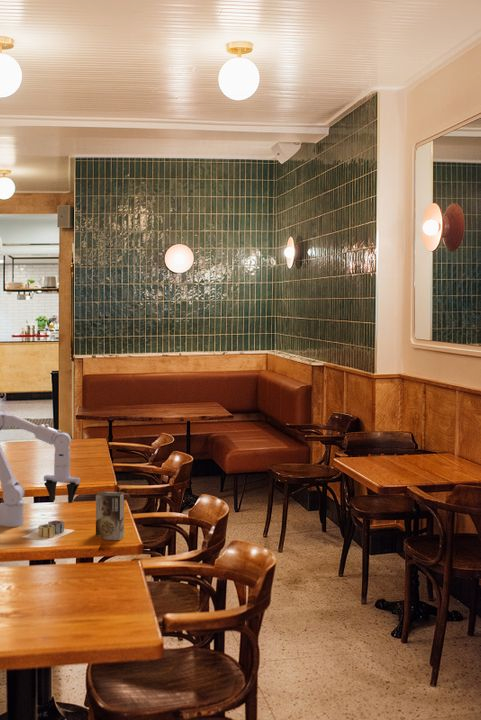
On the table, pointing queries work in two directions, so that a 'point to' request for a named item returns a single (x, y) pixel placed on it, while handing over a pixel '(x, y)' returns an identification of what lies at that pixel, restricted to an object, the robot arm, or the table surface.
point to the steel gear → (58, 526)
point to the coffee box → (110, 515)
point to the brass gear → (46, 531)
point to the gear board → (35, 536)
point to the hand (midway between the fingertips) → (61, 501)
